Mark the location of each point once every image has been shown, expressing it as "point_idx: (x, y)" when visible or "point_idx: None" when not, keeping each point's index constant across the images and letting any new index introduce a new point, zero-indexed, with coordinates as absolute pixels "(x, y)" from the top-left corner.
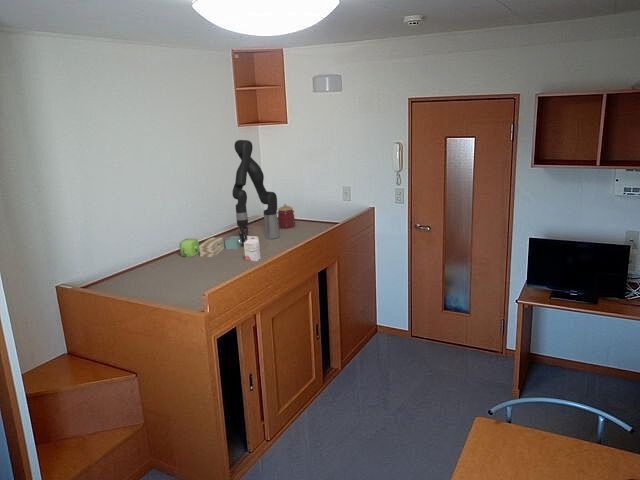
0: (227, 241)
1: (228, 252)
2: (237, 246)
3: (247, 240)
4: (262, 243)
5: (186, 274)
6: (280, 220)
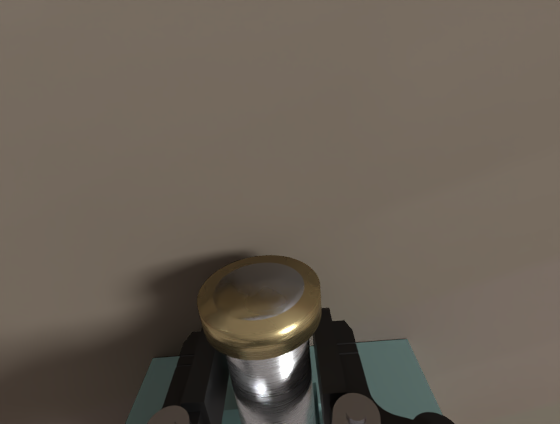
0: None
1: (555, 370)
2: (391, 363)
3: (313, 315)
4: (47, 55)
5: None
6: None
